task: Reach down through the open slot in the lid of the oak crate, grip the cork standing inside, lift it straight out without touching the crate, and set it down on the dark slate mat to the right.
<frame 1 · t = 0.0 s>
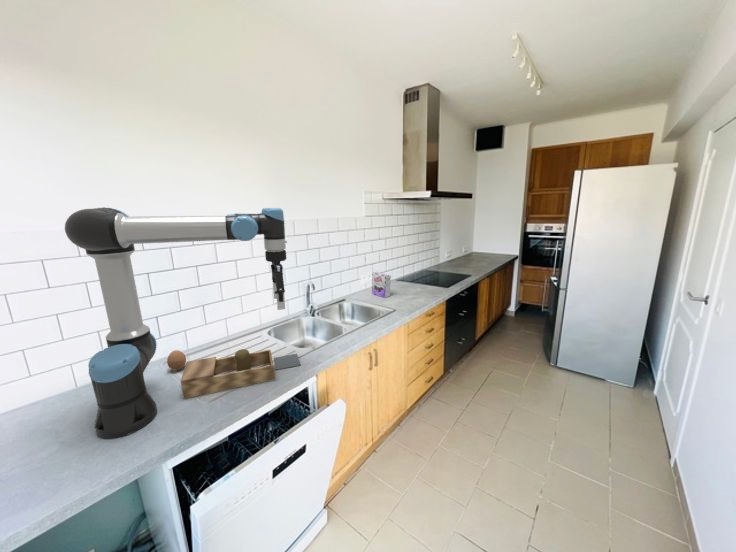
hand: (279, 303, 117), 28 cm above the worktop, fingers open, 13 cm apart
candy box: (380, 295, 219), on the worktop
egg: (178, 369, 122), on the worktop
crate: (231, 378, 116), on the worktop
slate mat: (287, 362, 128), on the worktop
cork: (244, 376, 117), resting in crate
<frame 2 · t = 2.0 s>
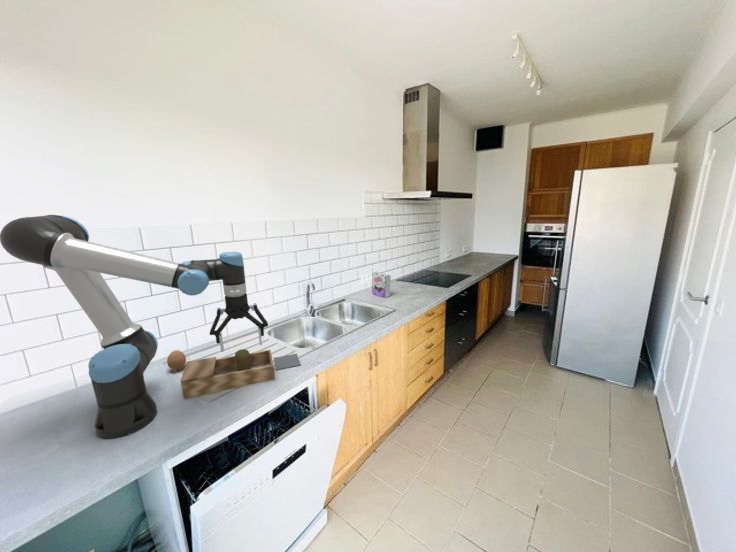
hand: (242, 347, 114), 13 cm above the worktop, fingers open, 13 cm apart
nothing on the worktop moved.
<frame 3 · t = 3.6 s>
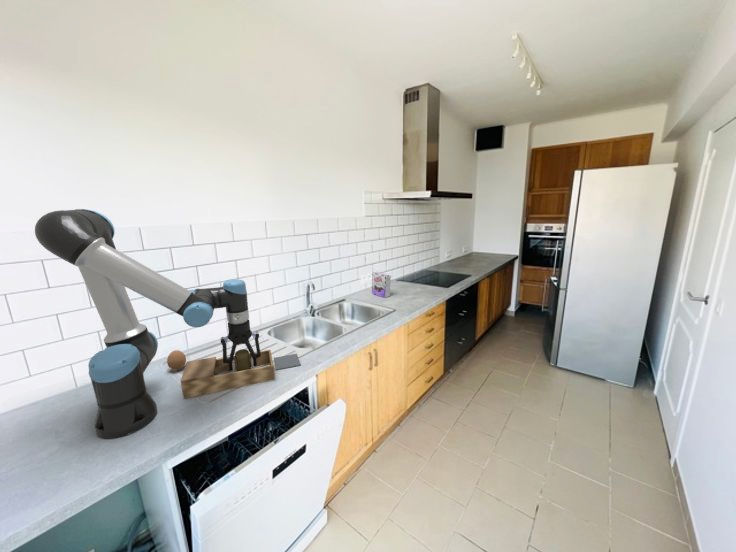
hand: (244, 375, 117), 0 cm above the worktop, fingers closed on cork, 6 cm apart
cork: (244, 376, 117), resting in crate, touching gripper
everything else where it was.
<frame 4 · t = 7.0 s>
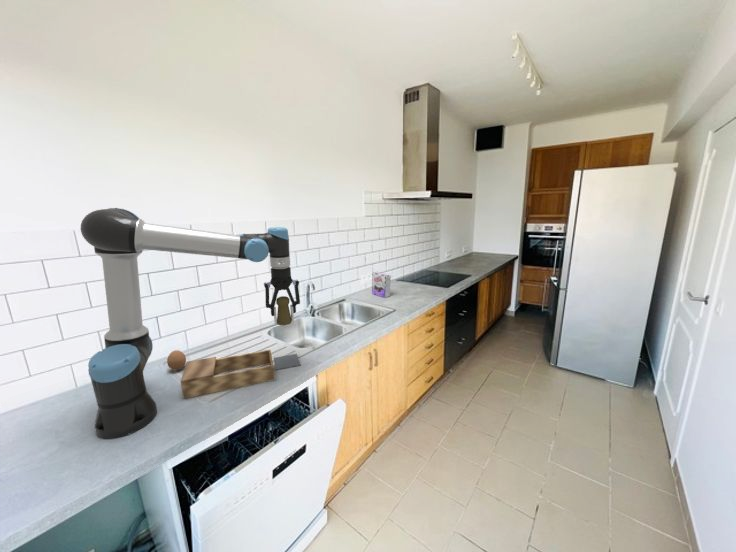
hand: (284, 321, 123), 19 cm above the worktop, fingers closed on cork, 6 cm apart
cork: (284, 322, 123), point 18 cm above the worktop, touching gripper
everything else where it was.
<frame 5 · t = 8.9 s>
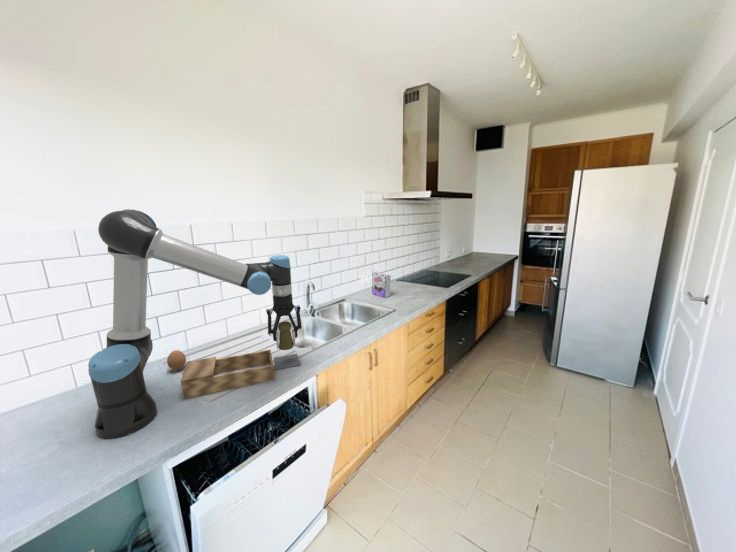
hand: (286, 345, 126), 8 cm above the worktop, fingers closed on cork, 6 cm apart
cork: (286, 347, 126), point 7 cm above the worktop, touching gripper
everything else where it was.
when the fingers open (2 cm above the worktop, at t = 10.3 s): cork drops 1 cm, resting on slate mat.
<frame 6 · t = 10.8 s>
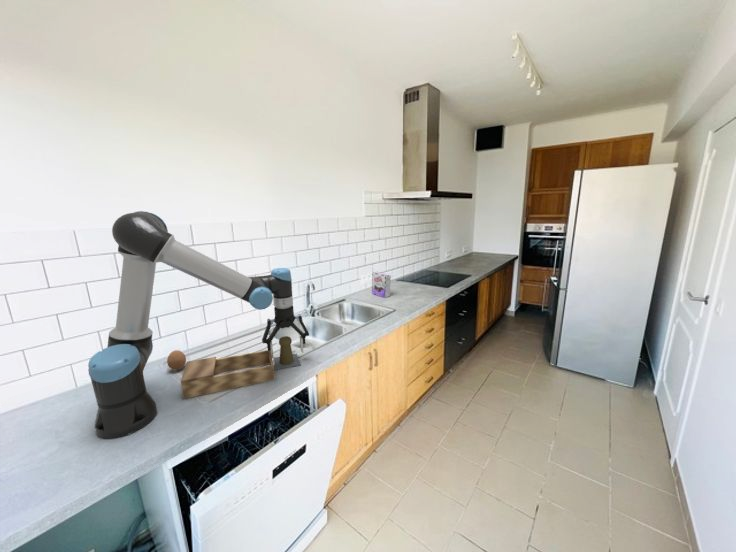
hand: (287, 353, 127), 4 cm above the worktop, fingers open, 12 cm apart
cork: (286, 361, 128), resting on slate mat
everything else where it was.
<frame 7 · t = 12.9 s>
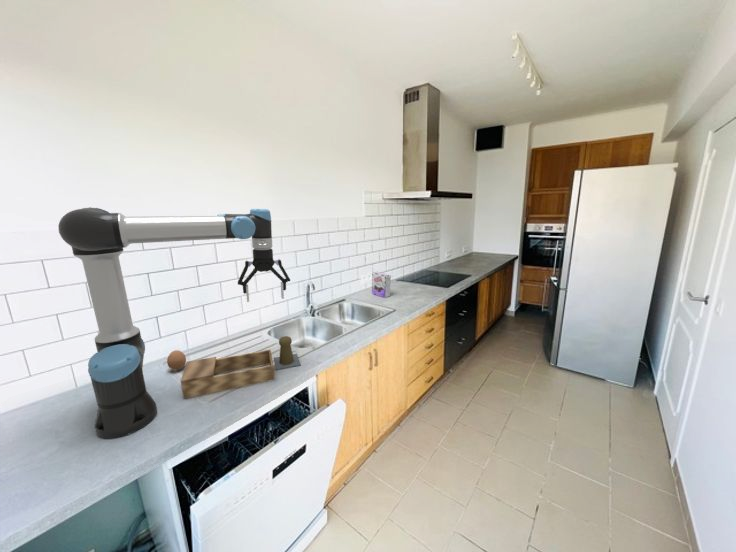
hand: (265, 299, 124), 27 cm above the worktop, fingers open, 13 cm apart
nothing on the worktop moved.
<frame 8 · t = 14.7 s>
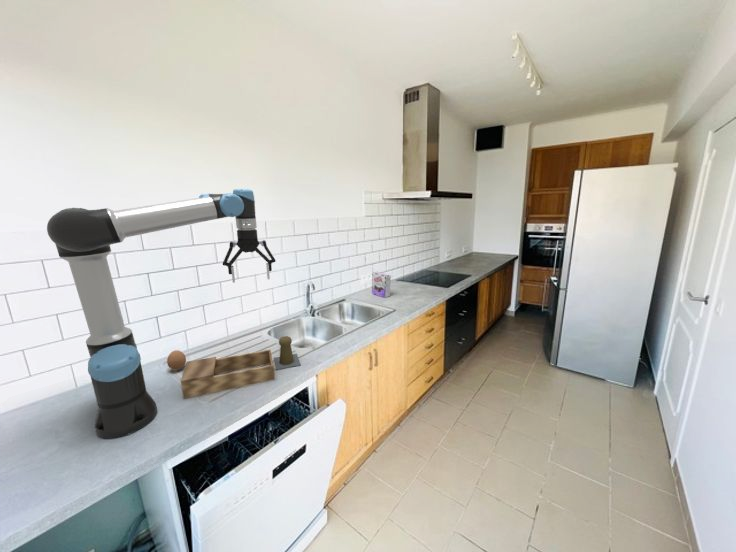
hand: (251, 280, 125), 35 cm above the worktop, fingers open, 13 cm apart
nothing on the worktop moved.
at the end: cork inside the target area on the slate mat (0.1 cm from its centre), point 0.3 cm above the slate mat's base; cork tilted 0°; the gripper is holding nothing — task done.
